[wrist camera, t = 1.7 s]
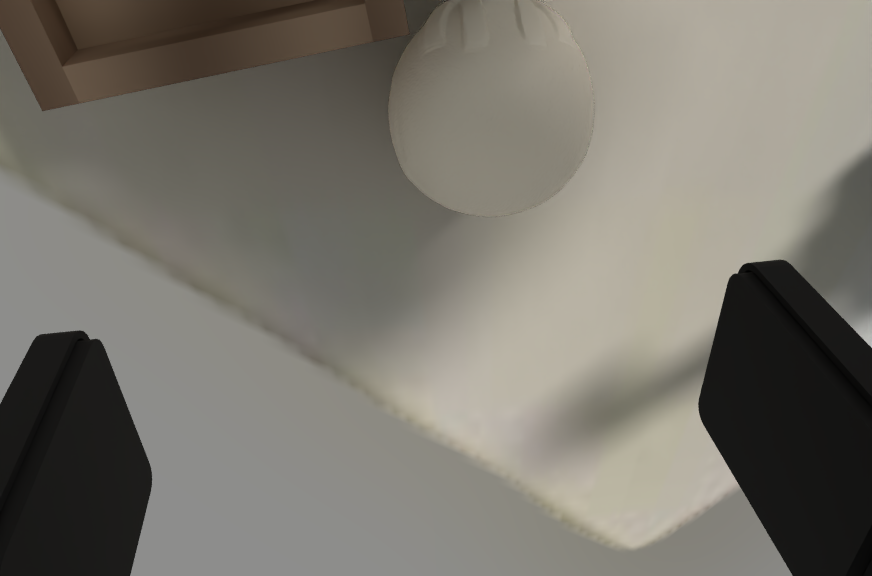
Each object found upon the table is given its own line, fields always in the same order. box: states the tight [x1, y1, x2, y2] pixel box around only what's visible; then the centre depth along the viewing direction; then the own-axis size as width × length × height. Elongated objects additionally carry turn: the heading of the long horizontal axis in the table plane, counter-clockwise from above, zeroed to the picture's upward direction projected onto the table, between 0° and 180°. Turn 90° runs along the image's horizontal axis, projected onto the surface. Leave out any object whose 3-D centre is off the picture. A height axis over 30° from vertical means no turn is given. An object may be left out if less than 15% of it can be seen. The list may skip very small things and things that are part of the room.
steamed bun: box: [388, 0, 594, 217], centre depth 24 cm, size 7×7×7 cm
